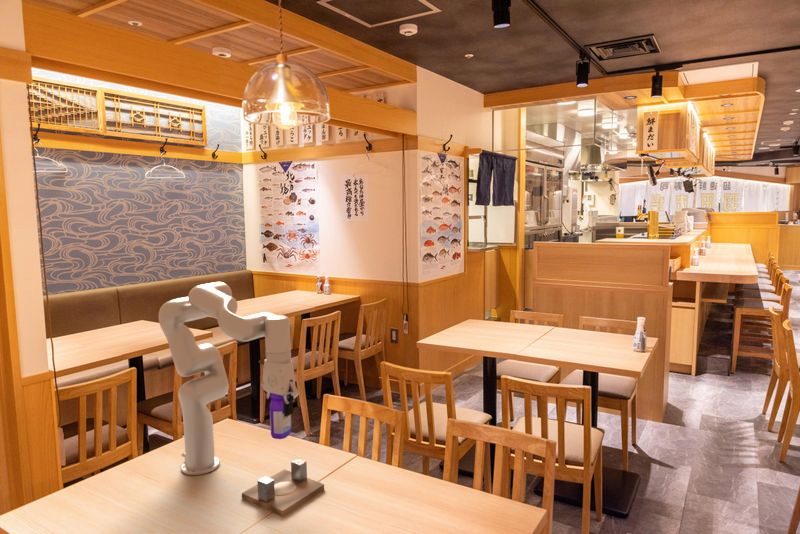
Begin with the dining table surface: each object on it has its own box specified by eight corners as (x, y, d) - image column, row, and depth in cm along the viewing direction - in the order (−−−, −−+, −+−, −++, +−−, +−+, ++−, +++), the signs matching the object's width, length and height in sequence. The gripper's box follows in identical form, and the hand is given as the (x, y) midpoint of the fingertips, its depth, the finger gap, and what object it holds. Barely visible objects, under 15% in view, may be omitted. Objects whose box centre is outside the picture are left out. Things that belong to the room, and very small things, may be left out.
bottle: (285, 441, 164) (283, 385, 162) (267, 439, 165) (265, 384, 163) (294, 431, 171) (292, 378, 169) (277, 430, 172) (275, 377, 170)
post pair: (258, 499, 164) (257, 480, 163) (298, 475, 178) (297, 458, 177) (267, 503, 162) (266, 484, 161) (307, 478, 176) (306, 461, 175)
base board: (241, 499, 168) (241, 492, 167) (284, 474, 182) (284, 468, 182) (282, 517, 158) (282, 510, 157) (324, 490, 172) (324, 483, 172)
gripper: (249, 354, 166) (252, 410, 169) (289, 363, 157) (291, 422, 159) (268, 349, 173) (270, 403, 175) (307, 357, 163) (309, 414, 165)
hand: (280, 411), depth 167 cm, fingers closed on bottle, 6 cm apart
